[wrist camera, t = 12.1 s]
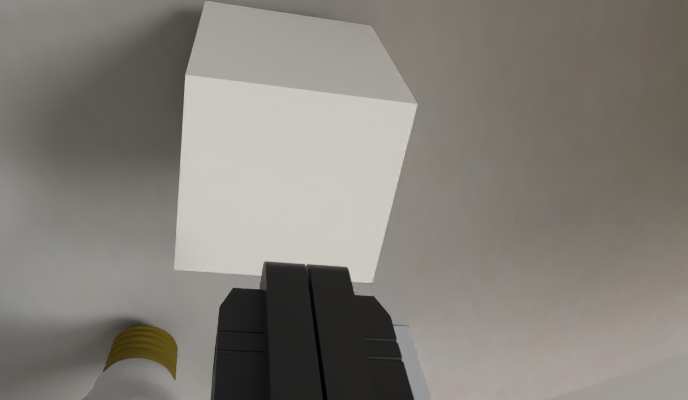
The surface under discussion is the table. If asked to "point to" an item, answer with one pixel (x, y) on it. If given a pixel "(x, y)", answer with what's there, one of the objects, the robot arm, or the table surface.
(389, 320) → the robot arm
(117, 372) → the light bulb
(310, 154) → the off-white rectangular block
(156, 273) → the table surface
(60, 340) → the table surface
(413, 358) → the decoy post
